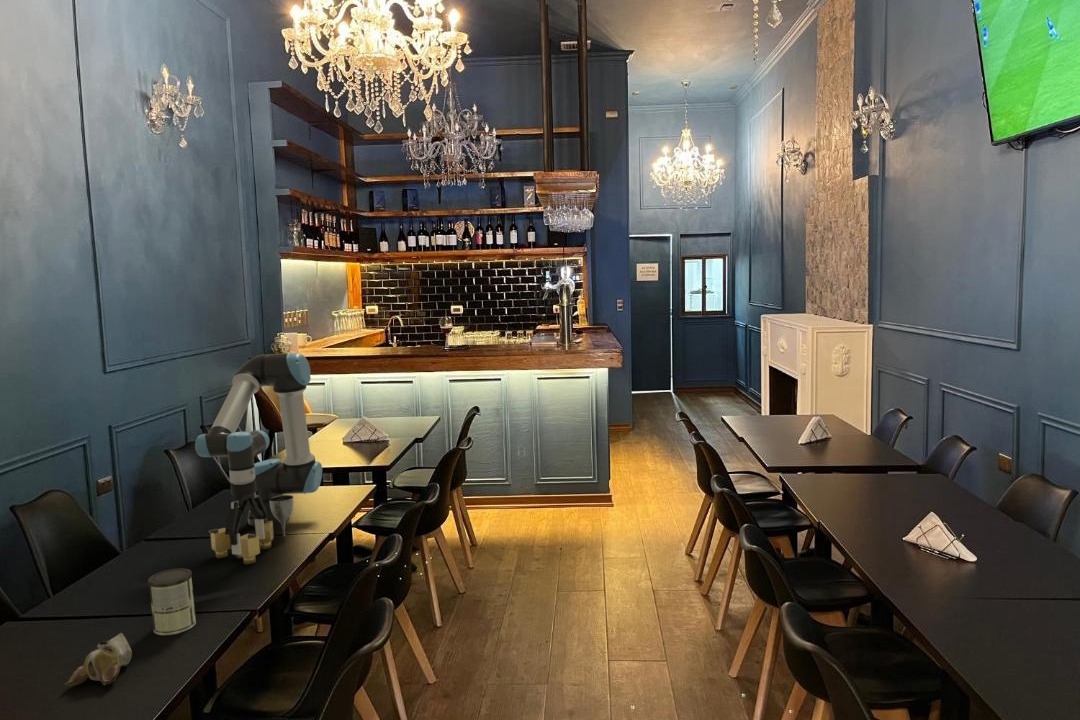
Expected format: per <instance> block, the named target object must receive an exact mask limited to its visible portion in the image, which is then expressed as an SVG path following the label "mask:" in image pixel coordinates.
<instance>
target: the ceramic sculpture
mask: <svg viewBox="0 0 1080 720" xmlns="http://www.w3.org/2000/svg"><path fill="white" fill-rule="evenodd" d="M132 651H133V650H132V649H131V646H130V644H129V641H128V640H127V638H126V637H125V635H124V634H123V633H122V632H120V633H118V634H117V635H116V636H114V637H112V638H111V639H109V640H102V641H100V642H99V643H98V644H97V646H96V647H95V648H94V649H93V650H91V651H90V653H88V654H87V655H86V657H85V660H84V663H83V665H81V666H78V667H77V668H76V670H74V671H73V672H72V674H71V676H70V678H69V679H68V681H66V682H65V683H64V684H63V685H64V686H65V687H69V686H77V685H80V684H82V683H84V682H85V681H86V680H88V679H89V680H91V681H98V682H99V681H100V682H101V684H102V685H103V686H107V685H109V684H111V683H114V682H115V681H116V679H117V678H118V676H119V673H120V672H121V671H120V670H121V667H124V666H127V665H128V664H129V663H130V661H131V659H132V656H133V652H132Z"/></svg>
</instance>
